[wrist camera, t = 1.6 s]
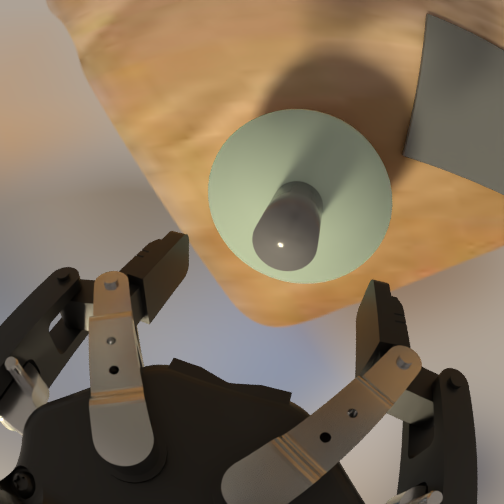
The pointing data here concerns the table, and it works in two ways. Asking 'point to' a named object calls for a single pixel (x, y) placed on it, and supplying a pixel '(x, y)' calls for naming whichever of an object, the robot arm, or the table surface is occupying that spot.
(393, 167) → the table surface
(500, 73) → the mat
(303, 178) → the lid
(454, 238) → the table surface
